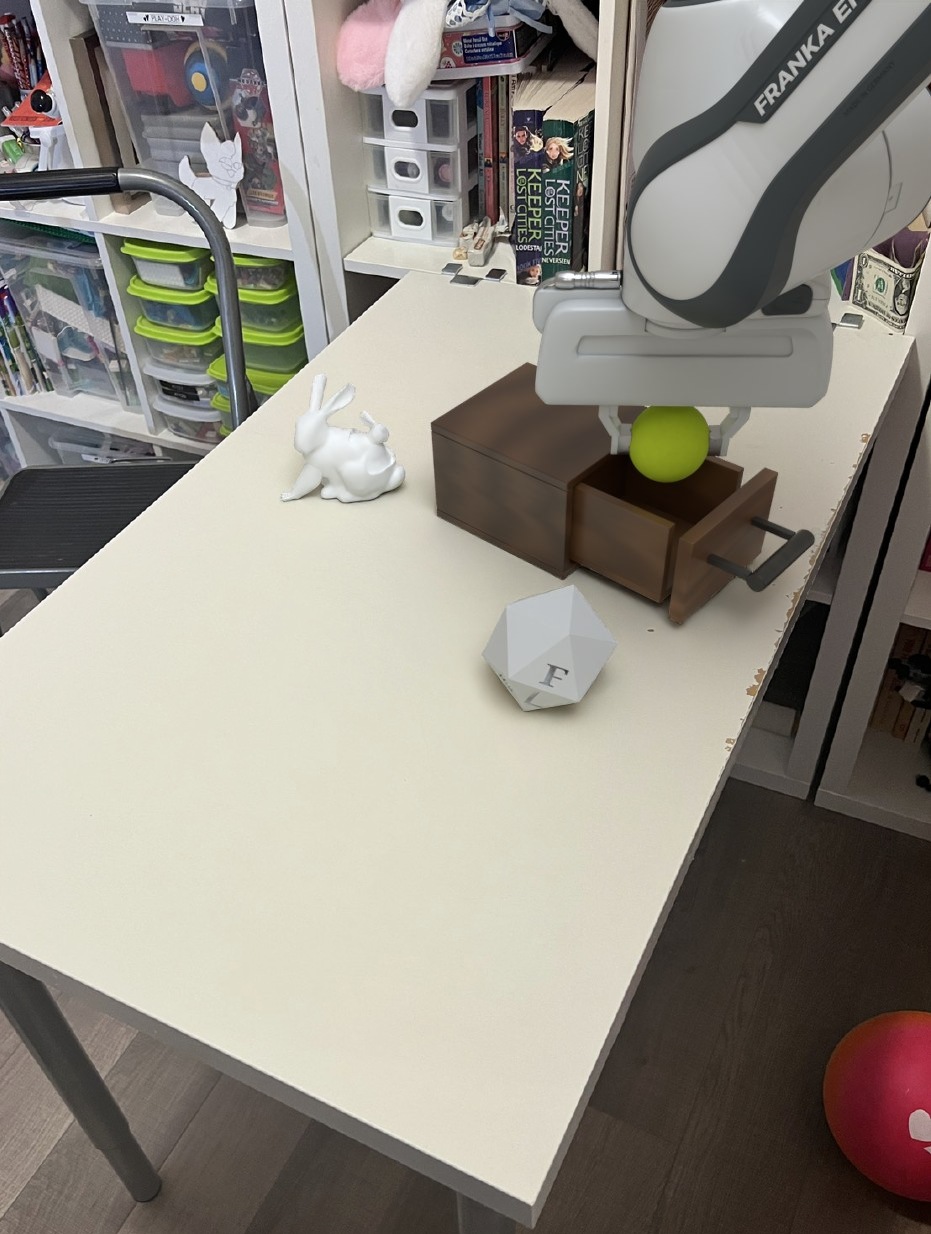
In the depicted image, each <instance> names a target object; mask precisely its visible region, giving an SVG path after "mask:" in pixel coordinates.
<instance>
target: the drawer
mask: <svg viewBox="0 0 931 1234" xmlns="http://www.w3.org/2000/svg"><path fill="white" fill-rule="evenodd" d="M744 471H745V467H744V466H741V465H739V464H736V463H734V462H731V461H728V460H726V459H724V458H721V457H719V456H706V458H705V460H704V461H703V463H702V464H701V466H700V467H699V468H698V469H697V470H696V471H695V472H694V473H693V474H691V475H690V476H688V477H686V478H684V479H682V480H679V481H675V482H658V481H654V480H651V479H649V478H647V477H646V476H644V475H643V474H642V473H641V472H639V471H638V469H637V468H636V467H635V466H634V464H633V462H632V460H631V457H630V454H617V455H616V456H615V457H613V458H612V459H610V460H609V461H608V462H606V463H605V464H604V465H602V466H601V467H600V468H598V469H597V470H595V471H594V472H593V473H591V474H590V475H589V476H587V477H586V478H584V479H583V480H582V481H580V482H579V483H578V484H576V485H575V486H574V487H572V488H573V496H572V518H571V540H570V559H571V560H573V561H575V562H577V563H579V564H581V565H582V567H584V568H587V569H589V570H591V571H593V572H595V573H597V574H599V575H601V576H603V577H604V578H607V579H608V580H611V581H613V582H616V583H617V584H619V585H622V586H623V587H626V588H628V589H629V590H632V591H633V592H636V593H637V594H639V595H641V596H644V597H645V598H647V599H649V600H652V601H653V602H656V603H658V604H661V603H662V602H663V601H664V600H665V599H666V598H668V597H669V596H670V595H671V596H670V603H669V610H668V617H667V618H668V619H669V620H671V621H673V622H675V623H677V624H680V625H682V624H683V623H684V622H685V621H687V619H689V618H690V617H691V616H692V615H693V614H694V613H695V612H697V611H698V609H700V608H701V607H702V606H703V605H704V604H705V603H706V602H708V601H709V600H710V599H711V598H712V597H713V596H715V595H716V594H717V593H718V592H719V591H720V590H721V589H722V588H724V587H725V585H727V584H728V583H729V582H731V580H733V579H734V578H735V577H737V578H739V579H742V580H743V581H745V582H746V586H747V587H748V589H750V590H751V591H752V592H755V593H762V592H763V591H765V590H766V589H767V588H768V587H769V586H770V585H771V584H772V583H773V582H775V580H776V579H778V578H779V577H780V576H781V575H782V574H783V573H784V572H785V571H786V570H788V569H789V568H790V567H791V566H792V565H793V564H794V563H795V562H796V561H797V560H798V559H799V558H801V557H802V556H803V555H804V554H805V553H806V552H807V551H809V549H810V548H811V547H813V546H814V545H815V542H816V538H815V534H814V533H813V532H812V531H811V530H809V529H805V528H803V529H799V530H798V531H797V532H796V531H794V530H792V529H790V528H787V527H784V526H782V525H780V524H777V523H775V522H772V521H770V519H769V518H770V514H771V509H772V504H773V500H774V496H775V491H776V487H777V482H778V478H779V471H777V470H773V469H771V468H768V467H766V466H765V467H764V468H762V469H760V471H758V472H757V473H756V474H755V475H754V476H752V477H751V478H750V479H749V480H748V481H746V482H745V483H744V484H743V485H742V483H743V482H742V481H743V476H744ZM766 533H769V534H772V535H774V536H776V537H778V538H781V539H783V540H786V542H784V543H783V544H782V545H781V546H780V547H779V548H778V549H777V550H776V551H774V553H772V554H771V555H770V556H768V558H767V559H765V560H764V561H763V562H762V563H761V564H760V565H759V566H758V567H757V568H756V569H754V571H752V570H750V569H748V568H746V567H747V566H748V565H750V563H751V562H753V561H754V560H756V558H757V557H758V556H759V555H761V554H762V552H763V546H764V542H765V537H766Z"/></svg>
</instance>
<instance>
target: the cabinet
mask: <svg viewBox="0 0 931 1234" xmlns="http://www.w3.org/2000/svg"><path fill="white" fill-rule="evenodd" d="M536 372H537V364H533V363H531V362H528V361H526V362H525V363H523V364H522V365H520V366H518V367H517V368H515V369H514V370H512V371H510V372H509V373H507V374H506V375H504V376H502V377H501V378H499V379H497V380H495V381H494V382H493V383H491V384H490V385H488V386H486V387H484V388H483V389H482V390H480V391H478V392H477V393H475V394H473V395H472V396H471V397H469V398H467V399H466V400H464V401H462V402H461V403H459V404H458V405H456V406H454V407H453V408H451V409H450V410H448V411H446V412H445V413H444V414H442V415H440V416H438V417H437V418H435V419H433V420H432V421H431V422H430V430H431V431H430V432H431V433H430V434H431V435H430V436H431V445H432V446H431V449H432V450H431V451H432V463H433V464H432V465H433V476H434V491H435V492H434V493H435V507H436V508H435V509H436V510H435V511H436V517H438V518H440V519H442V520H444V521H446V522H448V523H450V524H452V525H454V526H456V527H458V528H459V529H461V530H463V531H466V532H468V533H470V534H472V535H473V536H475V537H478V538H480V539H481V540H483V541H486V542H487V543H489V544H491V545H493V546H495V547H497V548H499V549H501V550H503V551H505V552H507V553H509V554H511V555H513V556H515V557H518V558H519V559H521V560H523V561H525V562H527V563H529V564H530V565H532V566H535V567H537V568H538V569H541V570H542V571H545V572H546V573H548V574H550V575H552V576H555V578H558V579H560V580H562V581H564V580H565V579H568V577H569V576H570V575H572V574H574V572H576V571H577V570H578V569H580V568H581V567H583V565H581V564H579V563H577V562H575V561H573V560H571V559H570V540H571V518H572V496H573V488H572V487H574V486H575V485H576V484H578V483H579V482H580V481H582V480H583V479H584V478H586V477H587V476H589V475H590V474H591V473H593V472H594V471H595V470H597V469H598V468H600V467H601V466H602V465H604V464H605V463H606V462H608V461H609V460H610V459H612V458H613V457H615V456H616V455H617V454H611V438H612V436H610V435H609V433H608V431H607V430H606V428H605V427H604V425H603V423H602V422H601V420H600V418H599V417H598V416H599V405H548V404H545V403H544V402H543V401H542V400H541V399H540V397H539V396H538V395H537V394H536V392H535V383H536ZM648 407H649V406H618V415H617V416H618V418H619V420H620V422H621V423H622V424H632V425H633V423H634V422H635V420H636V419H637V417H638V416H639V415H640V414H641V413H642V412H643V411H644V410H645V409H647V408H648Z"/></svg>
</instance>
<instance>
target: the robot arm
mask: <svg viewBox="0 0 931 1234" xmlns="http://www.w3.org/2000/svg"><path fill="white" fill-rule="evenodd" d="M653 19H654V20H653V22H652V23H651V27H650V30H649V33H648V36H647V39H646V43H645V47H644V51H643V52H644V53H643V55H642V56H643V58H642V61H641V68H640V73H639V80H638V85H637V93H636V94H637V95H636V102H635V111H634V121H633V122H634V123H633V124H634V125H633V133H632V147H631V149H632V151H631V155H632V163H633V169H634V172H635V173H634V174H635V176H634V181H633V184H632V188H631V191H630V194H629V200H628V206H627V214H626V226H625V239H624V253H623V268H621V269H599V270H590V271H589V270H588V271H576V270H561V271H557V272H555V274H554V276H552V277H549V278H546V279H545V280H543V281H542V282H541V283H540V284H539V285H538V286H537V288H536V289H535V290H534V293H533V296H532V317H531V318H532V322H533V325H534V327H535V329H536V330H537V331H538V332H539V333H540V334H541V337H540V343H539V349H538V355H537V357H538V358H537V362H536V366H537V372H536V383H535V392H536V394H537V395H538V396H539V397H540V399H541V400H542V401H543V402H544V403H545V404H548V405H599V416H598V417H599V418H600V420H601V422H602V423H603V425H604V427H605V428H606V430H607V431H608V433H609V435H610V436H612V438H611V454H630V447H629V446H630V444H631V437H632V432H631V429H632V424H622V423H621V422H620V420H619V418H618V416H617V415H618V406H645V407H650V406H689V407H695V408H697V407H698V408H700V407H702V408H703V407H705V408H728V413H727V415H726V416H725V417H724V419H723V420H721V422H720V423H719V424H710V425H709V424H708V426H709V431H710V433H709V449H708V453H707V456H716V457H727V456H728V451H729V445H730V439H732V438H733V437H734V436H736V434H737V433H738V432H739V431H740V430H741V428H743V427H744V425H746V423H747V422H748V421H749V420H750V417H751V411H752V408H771V409H773V408H777V409H778V408H779V409H780V408H781V409H787V408H789V409H811V408H813V407H814V406H815V405H817V404H818V403H819V402H820V401H822V399H823V398H825V397H826V396H827V393H828V390H829V387H830V380H831V375H832V369H833V361H834V360H833V359H834V358H833V357H834V343H835V342H834V339H835V337H834V330H833V325H832V321H831V320H832V319H831V315H830V311H829V308H828V307H829V304H830V301H831V297H832V275H831V270H833V269H835V268H837V267H839V266H841V265H842V264H844V263H846V262H848V261H849V260H851V259H853V258H855V257H857V256H859V255H861V254H863V253H865V252H867V251H869V250H870V249H872V248H875V247H876V246H878V245H880V244H882V243H883V242H885V241H887V240H888V239H890V238H892V237H894V236H895V235H896V234H898V233H900V232H902V231H903V230H905V229H906V228H908V227H909V226H910V225H911V224H913V223H914V222H915V221H916V220H917V219H918V218H919V217H920V215H921V214H922V213H923V212H924V211H925V208H927V206H928V205H929V203H930V201H931V90H930V88H929V87H928V86H929V85H930V84H931V0H666V2H664V3H663V4H662V5H661V6H660V7H659V9H658V10H657V12H656V15H655V17H654V18H653ZM553 284H554V285H553Z"/></svg>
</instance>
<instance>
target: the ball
mask: <svg viewBox="0 0 931 1234" xmlns="http://www.w3.org/2000/svg"><path fill="white" fill-rule="evenodd" d="M647 407H648V408H647V409H645V410H644V411H643V412H642V413H641V414H640V415H639V416H638V417H637V419H636V420H635V422H634V423H633V425H632V429H631V432H632V437H631V444H630V446H629V447H630V457H631V460H632V462H633V464H634V466H635V467H636V468H637V469H638V471H639V472H641V473H642V474H643V475H644V476H646V477H647V478H649V479H651V480H654V481H658V482H675V481H679V480H682V479H684V478H686V477H688V476H690V475H691V474H693V473H694V472H695V471H696V470H697V469H698V468H699V467H700V466H701V464H702V463H703V461H704V460H705V458H706V456H707V453H708V449H709V433H710V431H709V424H708V421H707V419H706V418H705V416H704V414H702V413H701V411H700V410H699V409H698V408H697V407H689V406H647Z"/></svg>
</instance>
